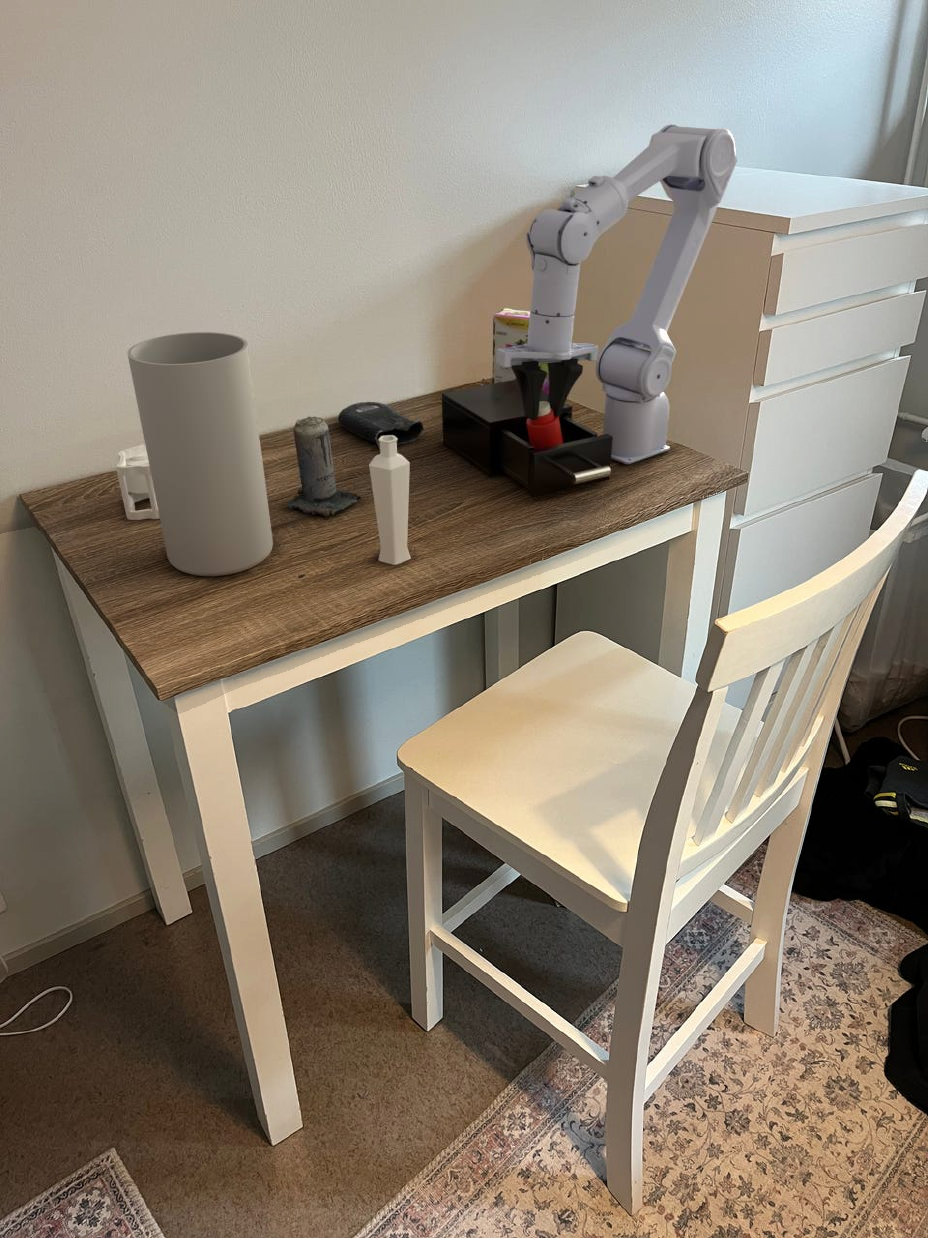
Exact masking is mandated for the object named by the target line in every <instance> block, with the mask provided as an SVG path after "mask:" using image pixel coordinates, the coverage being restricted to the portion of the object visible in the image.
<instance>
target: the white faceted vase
mask: <svg viewBox="0 0 928 1238" xmlns="http://www.w3.org/2000/svg"><path fill="white" fill-rule="evenodd" d="M397 440H398V439H397V438H396V437H395V436H394V435H388V436H381V437H380V438H379V440H378V441H380V449H379V452H380V453H379V454H377V455H374V457H373V458H372V460H371V461H370V462H369V464H368V469H369V474H370V482H371V490H372V495H373V496H372V497H373V503H374V511H375V518H376V523H377V530H378V531H377V532H378V538H379V545H380V550H379V555H378V561H379V562H381V563H386V564H390V565H393V566H397V565H399V564H402V563H404V562H406V561H409V560H411V559H412V558H411V554H410V551H409V547H408V534H409V533H408V527H409V502H410V501H409V500H410V499H409V497H410V468H411V467H410V466H411V463H410V461H409V460H408V459H407V458H406V457H405V456H404V455H402V454H401V453H399V452H398V447H397V446H398V445H397Z"/></svg>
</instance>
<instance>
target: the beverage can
mask: <svg viewBox="0 0 928 1238" xmlns="http://www.w3.org/2000/svg"><path fill="white" fill-rule="evenodd" d="M292 431H293V437H294V443H295V445H294V446H295V452H296V458H297V464H298V471H299V479H300V485H301V488H298V489H297V490H296V491H297V494H296V495H294V497H293V498H292V500H288V501H287V508H289V510H292V509H298V510H301V511H302V512H303V513H304V514H306V515H308V514H312V515H316V514H318V515H321V516H324V517H328V518H330V515H334V514H335V515H336V513H338V512H339V511H341V510H343V511H344V510H345V509H346V508H349V507H350V506H351V505H352V504H354V503H355V504H356V503H357V502H359V500H360V501H363V500H362V496H359V495H358V494H357V493H355V492H352V491H346V490H342V489H337V485H336V484H337V483H336V477H335V469H334V462H333V454H332V453H333V452H332V446H331V438H330V432H329V426H328V424H327V422H326V421H325V420H324V419H323V418H322V417H317V416H308V415H307V417H306V418H302V419H300V418H298V419H297V420H296V421H295V424H294V426H293V429H292Z"/></svg>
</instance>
